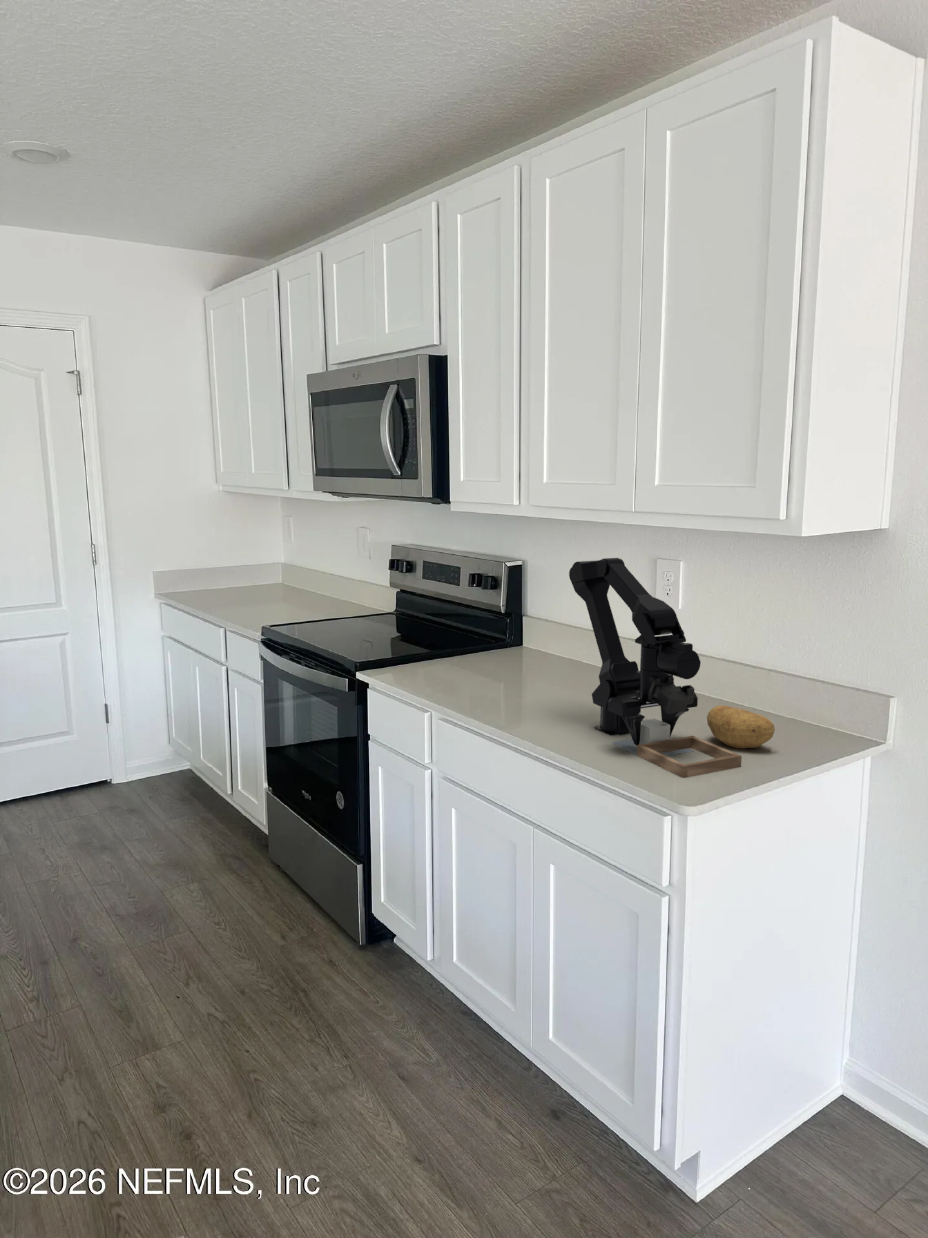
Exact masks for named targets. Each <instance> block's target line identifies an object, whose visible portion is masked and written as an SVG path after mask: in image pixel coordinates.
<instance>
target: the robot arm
mask: <svg viewBox="0 0 928 1238" xmlns="http://www.w3.org/2000/svg"><path fill="white" fill-rule="evenodd" d="M568 576H569V580H570V582H571V585H572V588H573V590H574V592H575V594H577V596H578V597H580V598H581V600H583V601H584V602H585V606H586V609H587V613H588V615H589V620H590V623H591V627H592V631H593V634H594V637H595V641H596V645H597V647H598V653H599V655H600V659H601V667H600V672H599V674H598V680H599V685H598V686H597V687H596V688H595V689H594V691H593V692H592V693H591V697H592V698H591V699H592V704H594V705H596V706H598V707H600V715H599V717H600V721H599V722H600V723H599V725H596V726H595V725H594V729H595V730H597V731H600V732H601V733H603V734H605V735H607V736H610V737H611V736H612V737H613V736H618V735H624V734H630V737H631V739H633V742H634V744H635V745H639V744H640V733H641V721H642V720H645V718H646V716H645V715H643V714H641V712H642V711H641V710H642V709H646V708H653V707H660V714H661V715H660V716H661V721H662V722H665V723H667V724H669V725H670V737H671V736H672V734H673V731H674V728H675V726H676V724H677V722H678V720H679V718H680V716H682V715H683V714H685V713H687V712H689V710H690V709H691V708H697V707H698V705H699V704H698V703H699V702H698V701H699V698H698V696H697V694H696V693H695V687H694V686H693V685H691V684H686V685H682V686H681V685H675V678H674V677H676V678H677V677H678V678H680V679H683V680H691V679H692V678H694V677H695V676H696V675H698V673H699V670H700V668H701V660H700V656H699V654H698V653H697V652H696V651H695V650H693V649H694V647H693V645H694V644H693V643H689V642H687V639H686V636H685V631H684V630H683V628H682V626H681V623H680V622H679V619H678V616H677V614H676V613H677V612H676V611H675V610H674V608H672V606H670V605H669V604H668V603H666V602H665V601H664V600H661V599H660V598H657V597H654V596H653V595H651V594H650V593H649V592H648V590H646V588H645V586H643V585H642V584H641V582H640V581H639V580H638V579H637V578H636V577H635V576H634V574H633V573H632V572H631V571H630V570H629V569H628V567H627V566H626V565H625V562H624V560H623V559H622V558H619V557H608V558H607V557H605V558H603V557H602V558H601V559H599V560H597V559H596V560H581V561H575V562H574V563H573V564H572V566H571V568H570V569H569V572H568ZM610 586H611V588H612V589H613V590H614V591H615V592H616V594H617V595H618V596H619V597H620V599H622V601H623V602H624V603H625V604H626V606H627V607H628V608H629V609H630V611H631V620H632V623H633V624H634V626H635V628H636V630H637V631H638V633H639V634H640V635H639V636H638V637H636V638H635V639H634V643H635V644H638V645H640V662H639V663H640V665H638V663H637V662H636V661H635V660H632V661H630V660H629V659H628V658H627V657H626V656H625V653H624V649H623V646H622V642H621V640H620V639H621V638H620V635H619V632H618V629H617V625H616V621H615V618H614V614H613V611H612V607H611V605H610V600H609V598H608V593H609V589H610ZM639 667H640V668H639Z"/></svg>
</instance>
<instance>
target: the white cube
mask: <svg viewBox="0 0 928 1238" xmlns="http://www.w3.org/2000/svg"><path fill="white" fill-rule="evenodd" d="M670 739H671V736H670V725H669V724H667V723H665V722H662V720H659V719H657V718H649V719H643V720H642V721H641V733H640V744H646V743H652V742H658V741H664V740H670ZM640 744H639V745H640ZM634 745H635V744H634ZM636 746H637V745H636Z"/></svg>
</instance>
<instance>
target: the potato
mask: <svg viewBox="0 0 928 1238" xmlns="http://www.w3.org/2000/svg"><path fill="white" fill-rule="evenodd" d="M706 720H707V721H706V722H707V723H706V724H707V725H708V727H709V729H710V731H711V734H712V735H713V736H714V737H715V738H717V739H718V741H720V742H722V743H723V744H724V745H725V746H729V747H731V748H734V749H748V748H749V749H750V748H751V749H756V748H761V746H763V745H764V744H765V743H767V742H769V741H770V740H771V739H772V738H773V737H774V734H775V732H776V729H775V725H774V723H773V722H772V721H771V720H770V719H769V718H767V717H766V716H764V715H762V714H758V713H755V712H752V711H749V710H746V709H743V708H738V707H732V706H729V705H716V706H714V707H712V708H711V709H710V710H709V711H708V713H707V715H706Z"/></svg>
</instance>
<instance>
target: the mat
mask: <svg viewBox="0 0 928 1238" xmlns="http://www.w3.org/2000/svg"><path fill="white" fill-rule="evenodd" d="M610 744H613V745H614V746H616V747H618V748H620V749H623V750H625V751H626V752H628V753H631V754H633V755H635V756H637V746H636V745H634V742H633V739H632V738H628V739H623V740H616V741H610ZM693 752H694V750H693V749H692V748H686V749H681V750H675V751H669V752H664V753H661V754H663V755H665V756H667V757H671V756H675V755H681V754H687V753H693ZM642 759H643V760H645V759H644V758H642Z"/></svg>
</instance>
